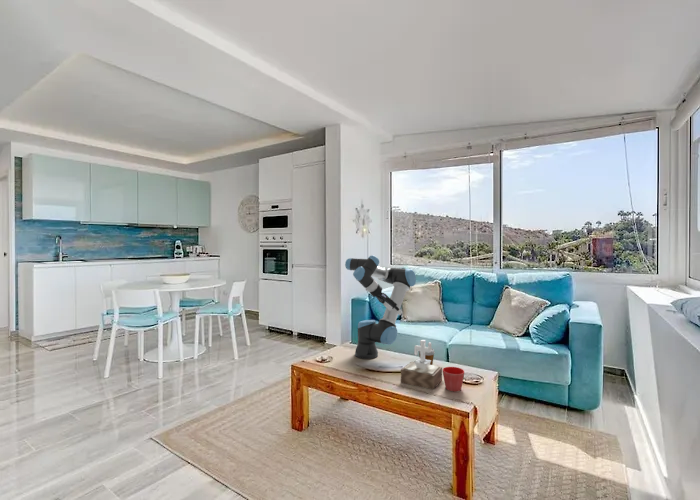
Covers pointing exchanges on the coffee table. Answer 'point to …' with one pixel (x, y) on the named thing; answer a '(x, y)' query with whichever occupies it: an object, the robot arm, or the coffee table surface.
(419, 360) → the figurine
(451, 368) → the flower pot
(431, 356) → the disposable coffee cup
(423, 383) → the chevron patterned box
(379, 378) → the coffee table surface
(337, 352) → the coffee table surface
